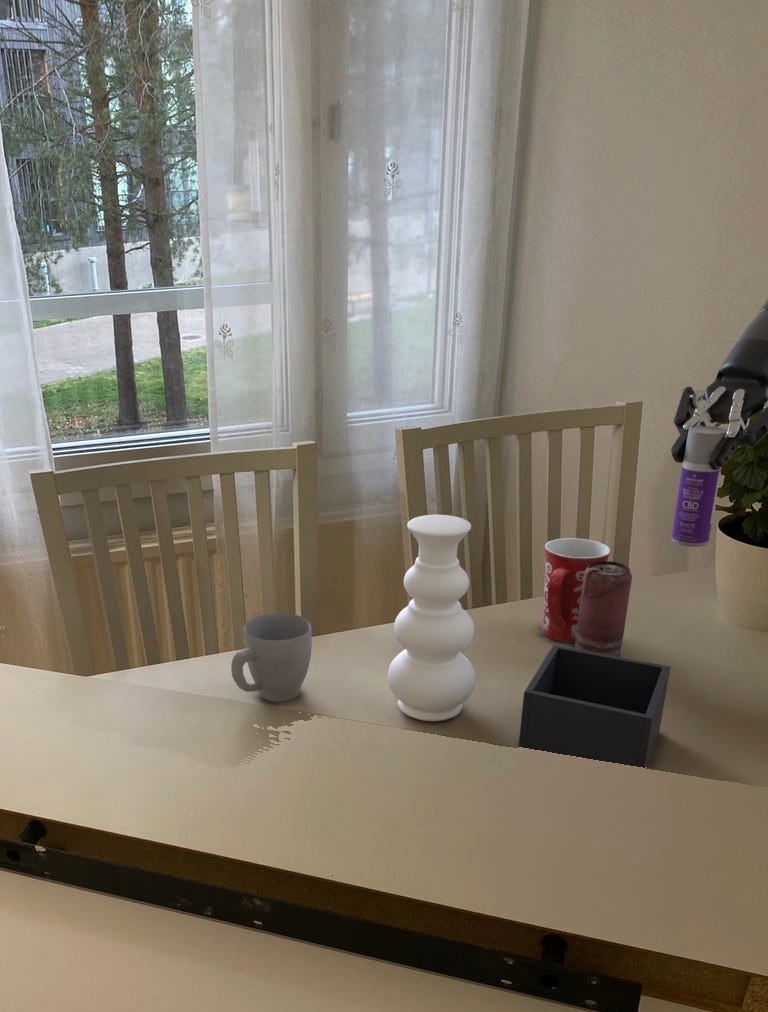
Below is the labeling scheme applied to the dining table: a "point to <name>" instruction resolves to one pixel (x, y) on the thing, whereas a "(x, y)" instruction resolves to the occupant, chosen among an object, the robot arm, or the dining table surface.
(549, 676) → the bin
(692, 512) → the container
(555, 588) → the mug
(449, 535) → the vase
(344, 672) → the dining table surface
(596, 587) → the can
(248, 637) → the mug
